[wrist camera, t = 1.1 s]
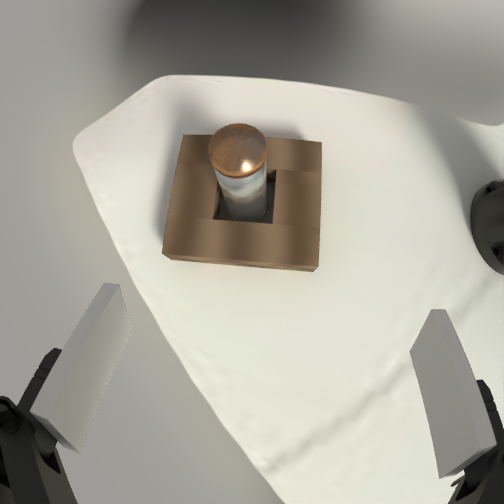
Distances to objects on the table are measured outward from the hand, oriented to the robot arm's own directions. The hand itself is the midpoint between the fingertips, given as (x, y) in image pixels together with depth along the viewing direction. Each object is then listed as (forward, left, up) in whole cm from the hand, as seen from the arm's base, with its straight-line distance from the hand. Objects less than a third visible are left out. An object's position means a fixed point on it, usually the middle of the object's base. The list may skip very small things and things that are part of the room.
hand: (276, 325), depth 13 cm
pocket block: (+4, -14, -26) cm, 30 cm away
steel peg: (+4, -14, -27) cm, 30 cm away
